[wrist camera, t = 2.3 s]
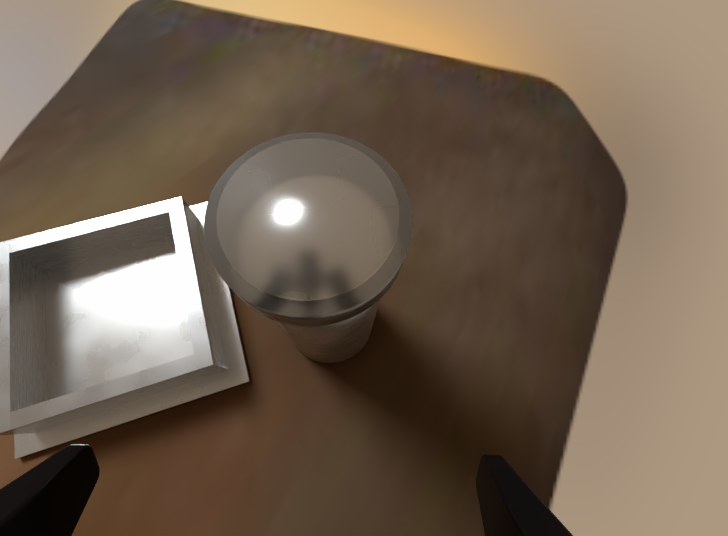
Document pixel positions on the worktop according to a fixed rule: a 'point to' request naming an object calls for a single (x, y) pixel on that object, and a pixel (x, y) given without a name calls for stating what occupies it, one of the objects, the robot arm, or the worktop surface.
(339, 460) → the worktop surface
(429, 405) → the worktop surface
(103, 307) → the collar
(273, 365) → the worktop surface
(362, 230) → the lidded steel tumbler
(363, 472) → the worktop surface
